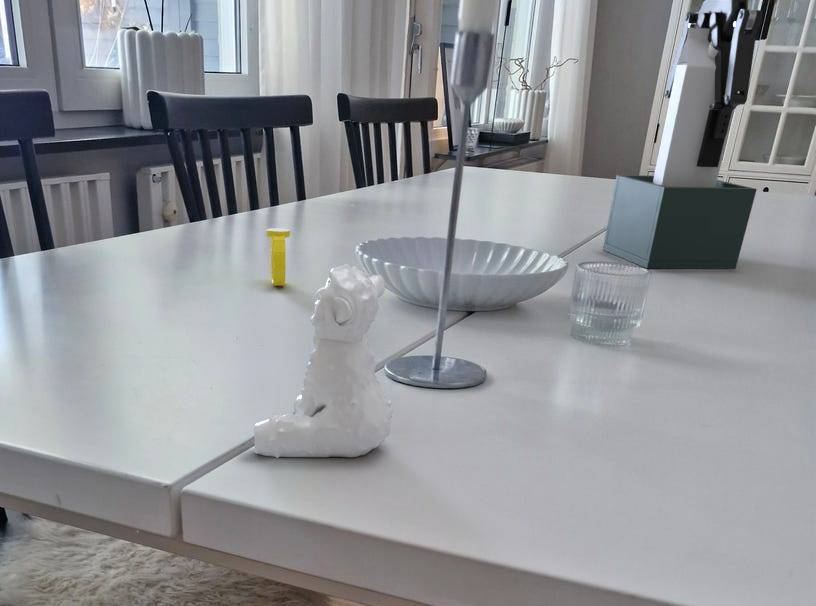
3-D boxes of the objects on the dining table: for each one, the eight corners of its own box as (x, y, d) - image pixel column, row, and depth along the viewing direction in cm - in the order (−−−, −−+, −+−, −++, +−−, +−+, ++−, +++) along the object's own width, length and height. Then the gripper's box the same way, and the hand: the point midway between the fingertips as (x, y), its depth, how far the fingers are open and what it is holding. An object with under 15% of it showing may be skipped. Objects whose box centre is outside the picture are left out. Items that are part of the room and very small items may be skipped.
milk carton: (650, 189, 128) (684, 28, 117) (702, 192, 127) (740, 30, 117) (659, 195, 122) (694, 27, 111) (712, 198, 121) (753, 29, 111)
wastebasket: (735, 268, 125) (757, 188, 119) (647, 268, 122) (664, 187, 117) (684, 250, 136) (702, 176, 130) (602, 250, 133) (616, 174, 128)
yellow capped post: (291, 290, 103) (291, 234, 100) (267, 290, 103) (267, 233, 100) (288, 279, 108) (288, 225, 105) (265, 278, 108) (264, 225, 105)
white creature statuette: (303, 413, 68) (306, 243, 62) (410, 432, 66) (426, 257, 59) (246, 454, 61) (243, 267, 54) (364, 478, 58) (376, 284, 52)
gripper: (663, -40, 118) (626, 154, 130) (759, -55, 100) (706, 171, 113) (714, -37, 119) (673, 155, 132) (817, -51, 102) (759, 172, 114)
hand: (688, 162), depth 122 cm, fingers closed on milk carton, 9 cm apart
